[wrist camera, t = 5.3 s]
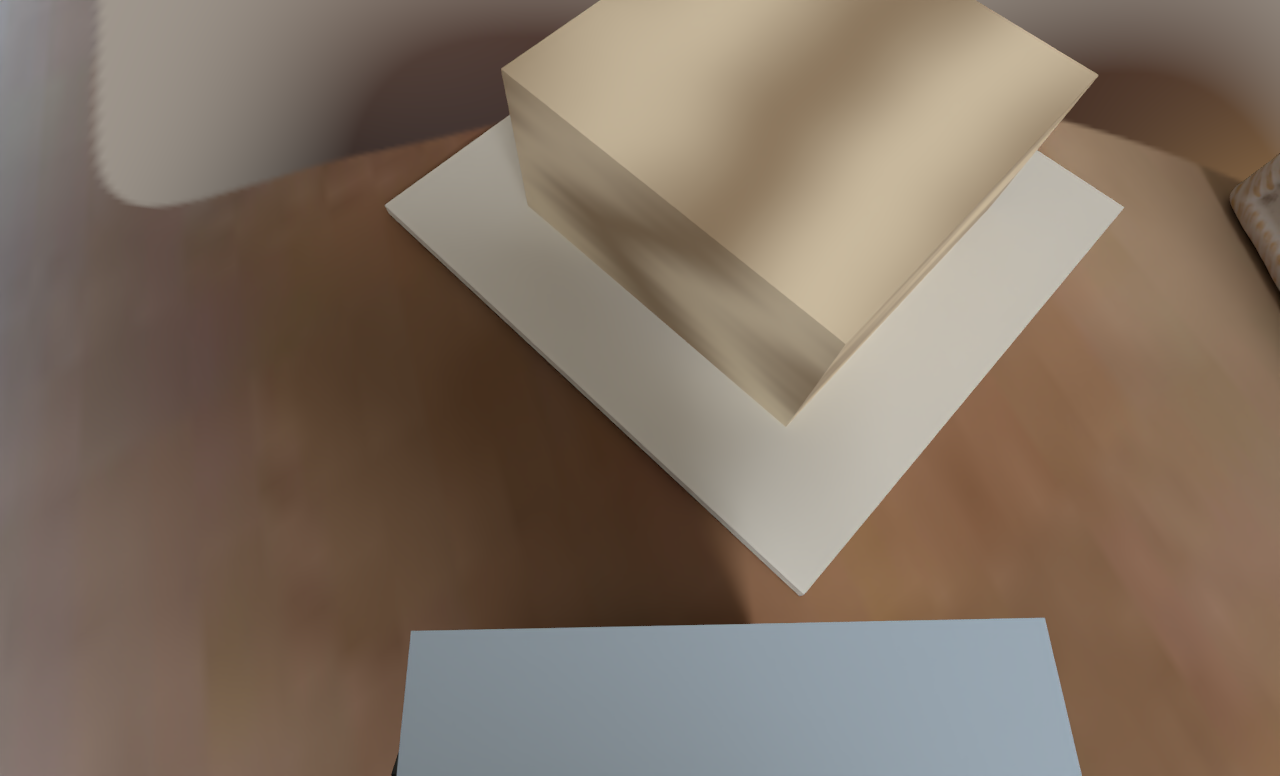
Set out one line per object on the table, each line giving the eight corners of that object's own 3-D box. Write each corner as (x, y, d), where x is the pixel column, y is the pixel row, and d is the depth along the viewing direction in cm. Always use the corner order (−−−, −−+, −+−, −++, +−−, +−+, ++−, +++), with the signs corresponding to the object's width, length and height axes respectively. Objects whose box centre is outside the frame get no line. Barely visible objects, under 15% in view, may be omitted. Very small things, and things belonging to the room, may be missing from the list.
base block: (527, 205, 20) (501, 68, 15) (743, 36, 23) (775, -121, 18) (785, 427, 18) (845, 344, 13) (990, 206, 21) (1098, 74, 16)
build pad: (388, 213, 20) (384, 205, 20) (732, -37, 25) (734, -48, 24) (799, 596, 16) (804, 594, 16) (1115, 215, 21) (1124, 207, 21)
